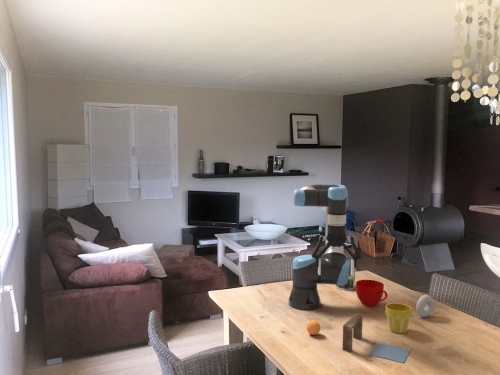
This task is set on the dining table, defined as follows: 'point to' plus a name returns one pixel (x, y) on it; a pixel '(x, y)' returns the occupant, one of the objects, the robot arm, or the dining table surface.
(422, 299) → the donut
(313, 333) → the ball
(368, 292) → the ceramic cup
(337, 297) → the dining table surface
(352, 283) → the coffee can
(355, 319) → the bridge
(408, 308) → the plant pot
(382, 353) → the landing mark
